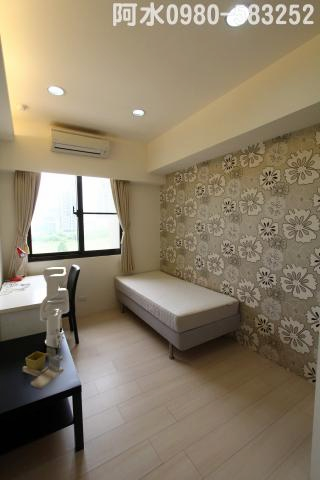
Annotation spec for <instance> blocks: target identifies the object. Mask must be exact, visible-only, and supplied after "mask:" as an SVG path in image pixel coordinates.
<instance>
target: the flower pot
mask: <svg viewBox="0 0 320 480" xmlns="http://www.w3.org/2000/svg"><path fill="white" fill-rule="evenodd" d="M24 359H25V366H27V367H29V368H32V369H35V370H38V371H40V370H41V369H42V368H43V367H44V365H45V362H46V359H47V357H46V353H44V352H40V351H35V352H33V353H32V354H30V355H28V356H27V357H25V358H24Z"/></svg>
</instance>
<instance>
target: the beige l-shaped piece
mask: <svg viewBox="0 0 320 480" xmlns="http://www.w3.org/2000/svg"><path fill="white" fill-rule="evenodd" d="M60 357H61V356H60V355H58V354H57V355H56V356H55V357H49V359H48V365H49V369H48V370H47V371H46V372H44V373H43V374H42V375H40V376H39V377H37V378H35V379H33V380H32V381H31V382H30V385H31V386H33V387H36V388H38V389H43V388H44V387H45V386H46V385H48V384H49V382H51V381H53V380H54V379H55V378H56V377H58V375H60V373H62V372H63V371H64V368H63V367H61V363H60V362H61V360H60Z"/></svg>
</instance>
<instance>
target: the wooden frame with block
mask: <svg viewBox="0 0 320 480" xmlns="http://www.w3.org/2000/svg"><path fill="white" fill-rule="evenodd" d="M45 354H46V359H48V360H49V357H55V356H56V349H54V347H51V348H49V347H48V346H47V347H46V353H45ZM61 360H63V355H61V356H60V361H61ZM48 369H49V364H48V365H47V366H45V368H43V369H42V370H35V369H32V368H29V367H27V365H23V367H22V372H23V373H26V374H29V375H32V376H35V377H37V378H38V377H39V376H40V375H42V374H43V373H44V372H46V371H47V370H48Z"/></svg>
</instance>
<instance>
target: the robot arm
mask: <svg viewBox="0 0 320 480" xmlns="http://www.w3.org/2000/svg"><path fill="white" fill-rule="evenodd" d="M67 272H68V271H67V268H66V267H65V266H64V267H62V266H61V267H49V268H48V267H47V268H45V269H44V270H43V272H42V275H43V278H44V281H45V283H46V296H45V298H44V299H43V300H42V301H41V303H40V305H39V319H40V321H42V322H46V337H45V338H46V339H45V340H44V343H45V345H46V346H47V347H49V348H51V347H54V349H56V355H58V350H60V349H62V346H61V345H62V341H63V337H62V335H64V334H65V331H62V332H60V331H61V330H60V329H61V326H60V325H61V323H60V322H61V321H60V318H61V317H62V315H63V314H68V312H70V302H69V300H70V299H69V296H70V295H69V290H68V289H67V288H63V287H62V288H60V286H63V285H66V284H67V282H68V273H67ZM47 302H49V303H47Z"/></svg>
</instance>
